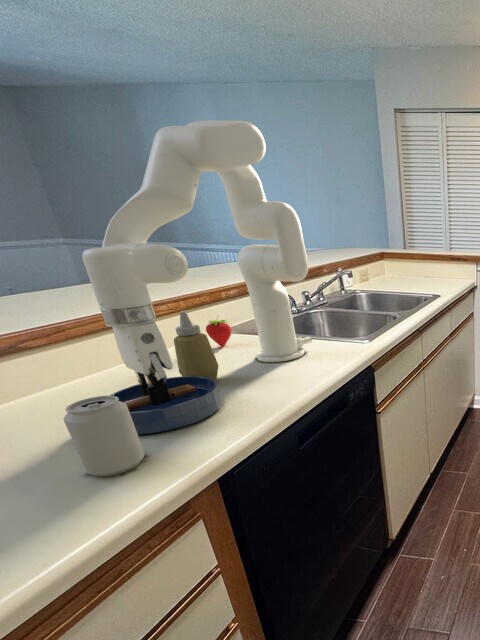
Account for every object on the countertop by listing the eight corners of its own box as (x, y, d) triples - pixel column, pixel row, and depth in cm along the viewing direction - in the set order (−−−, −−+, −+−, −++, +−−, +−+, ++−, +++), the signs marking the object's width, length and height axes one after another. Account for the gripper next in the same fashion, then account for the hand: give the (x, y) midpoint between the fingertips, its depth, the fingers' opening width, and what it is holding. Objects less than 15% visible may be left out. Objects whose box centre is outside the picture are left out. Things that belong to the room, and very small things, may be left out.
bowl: (195, 389, 101) (189, 370, 100) (241, 407, 93) (235, 387, 91) (91, 421, 86) (82, 398, 84) (135, 446, 77) (125, 422, 75)
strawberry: (221, 342, 137) (213, 312, 133) (240, 344, 135) (233, 314, 131) (205, 347, 132) (196, 316, 128) (224, 350, 130) (216, 318, 126)
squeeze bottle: (185, 391, 100) (162, 317, 94) (181, 381, 106) (159, 310, 99) (224, 383, 105) (206, 312, 99) (219, 374, 111) (201, 306, 104)
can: (143, 449, 76) (121, 389, 72) (149, 466, 71) (125, 402, 67) (86, 465, 71) (58, 401, 67) (88, 485, 66) (58, 417, 62)
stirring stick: (189, 390, 94) (186, 381, 93) (196, 393, 92) (194, 384, 92) (113, 412, 83) (109, 403, 82) (120, 416, 81) (116, 407, 81)
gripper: (172, 316, 80) (198, 403, 87) (134, 306, 87) (161, 388, 94) (124, 324, 74) (155, 417, 81) (87, 313, 81) (119, 399, 88)
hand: (158, 401), depth 88 cm, fingers closed on stirring stick, 2 cm apart
